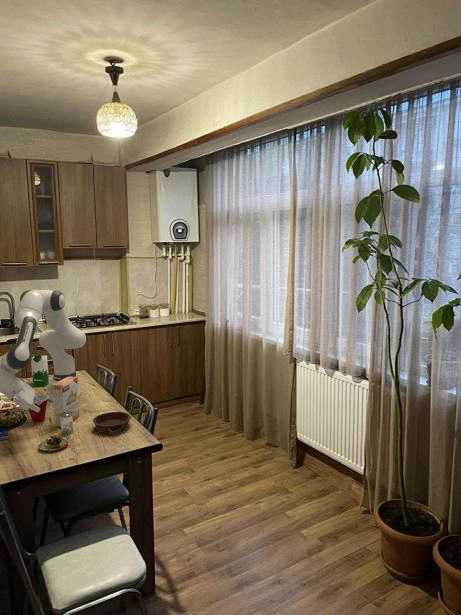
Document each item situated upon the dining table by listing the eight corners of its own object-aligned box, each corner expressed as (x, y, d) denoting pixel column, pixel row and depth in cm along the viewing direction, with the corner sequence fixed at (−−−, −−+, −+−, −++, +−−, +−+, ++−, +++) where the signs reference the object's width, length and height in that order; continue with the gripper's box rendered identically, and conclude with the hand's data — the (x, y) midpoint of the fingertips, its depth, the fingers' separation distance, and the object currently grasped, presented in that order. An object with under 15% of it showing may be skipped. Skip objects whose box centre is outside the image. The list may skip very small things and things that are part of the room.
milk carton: (31, 387, 280) (28, 355, 277) (36, 383, 289) (34, 352, 286) (46, 387, 280) (43, 355, 277) (50, 382, 289) (48, 351, 286)
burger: (34, 448, 197) (33, 431, 196) (60, 439, 206) (59, 423, 205) (45, 457, 189) (44, 439, 188) (73, 447, 197) (72, 431, 196)
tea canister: (58, 432, 212) (57, 414, 211) (69, 428, 217) (68, 410, 215) (64, 435, 209) (63, 417, 208) (75, 432, 213) (74, 413, 212)
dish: (125, 417, 231) (125, 407, 230) (136, 433, 211) (136, 422, 211) (89, 423, 224) (89, 413, 223) (97, 440, 204) (97, 429, 203)
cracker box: (65, 427, 218) (62, 385, 215) (54, 426, 220) (51, 384, 217) (80, 416, 232) (78, 376, 229) (69, 415, 233) (67, 376, 230)
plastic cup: (22, 425, 222) (20, 401, 220) (32, 416, 232) (30, 394, 231) (44, 425, 221) (42, 401, 220) (53, 416, 232) (52, 393, 230)
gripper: (16, 390, 193) (43, 409, 198) (22, 377, 213) (46, 394, 217) (6, 401, 193) (32, 420, 197) (12, 387, 212) (36, 405, 216)
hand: (39, 407), depth 207 cm, fingers open, 8 cm apart
